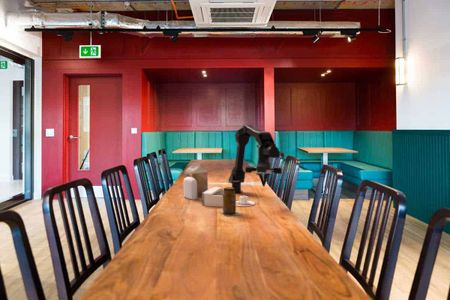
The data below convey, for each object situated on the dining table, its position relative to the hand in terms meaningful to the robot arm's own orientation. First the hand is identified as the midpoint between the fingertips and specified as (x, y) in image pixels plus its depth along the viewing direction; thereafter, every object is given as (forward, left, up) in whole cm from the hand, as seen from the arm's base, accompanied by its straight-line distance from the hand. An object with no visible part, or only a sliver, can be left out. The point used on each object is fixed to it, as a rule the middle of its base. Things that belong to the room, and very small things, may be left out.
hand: (263, 186), depth 151 cm
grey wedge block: (0, -26, -10) cm, 28 cm away
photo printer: (-5, -44, -10) cm, 45 cm away
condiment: (+19, -13, -10) cm, 25 cm away
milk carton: (-16, -45, -10) cm, 49 cm away
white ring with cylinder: (0, -11, -11) cm, 15 cm away
